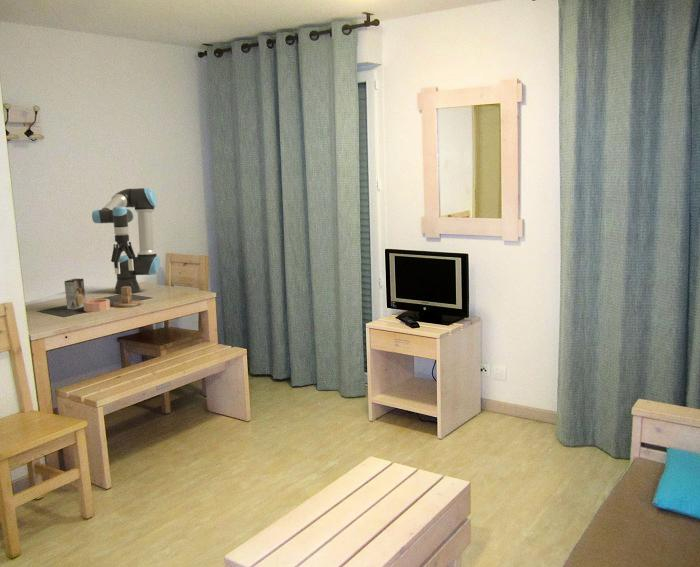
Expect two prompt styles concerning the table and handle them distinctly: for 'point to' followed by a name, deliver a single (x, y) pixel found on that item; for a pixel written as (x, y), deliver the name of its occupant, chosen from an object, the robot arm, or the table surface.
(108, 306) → the bowl
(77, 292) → the coffee box
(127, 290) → the lid
